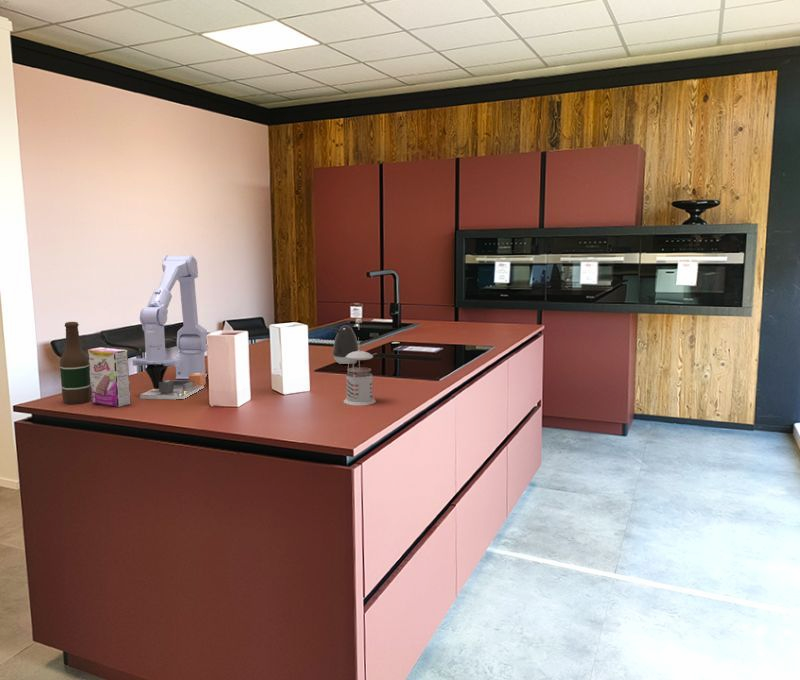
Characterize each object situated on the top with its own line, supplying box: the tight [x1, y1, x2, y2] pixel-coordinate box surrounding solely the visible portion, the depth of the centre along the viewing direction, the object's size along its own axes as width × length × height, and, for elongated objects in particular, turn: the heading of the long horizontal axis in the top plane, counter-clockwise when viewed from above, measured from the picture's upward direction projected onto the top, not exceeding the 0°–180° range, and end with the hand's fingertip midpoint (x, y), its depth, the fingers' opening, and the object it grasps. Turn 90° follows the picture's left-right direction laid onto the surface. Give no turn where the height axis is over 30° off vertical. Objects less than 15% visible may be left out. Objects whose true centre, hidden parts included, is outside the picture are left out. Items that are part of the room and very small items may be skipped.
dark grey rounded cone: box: [331, 325, 359, 365], centre depth 256 cm, size 10×10×15 cm
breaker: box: [159, 379, 174, 393], centre depth 203 cm, size 3×4×3 cm
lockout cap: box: [188, 372, 207, 386], centre depth 217 cm, size 4×4×4 cm
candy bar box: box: [87, 346, 132, 408], centre depth 192 cm, size 11×5×16 cm, turn 65°
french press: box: [343, 318, 377, 406], centre depth 194 cm, size 10×12×25 cm
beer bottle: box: [59, 321, 92, 405], centre depth 194 cm, size 8×8×24 cm
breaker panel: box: [139, 379, 205, 400], centre depth 206 cm, size 14×15×3 cm
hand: (157, 388), depth 203 cm, fingers closed
